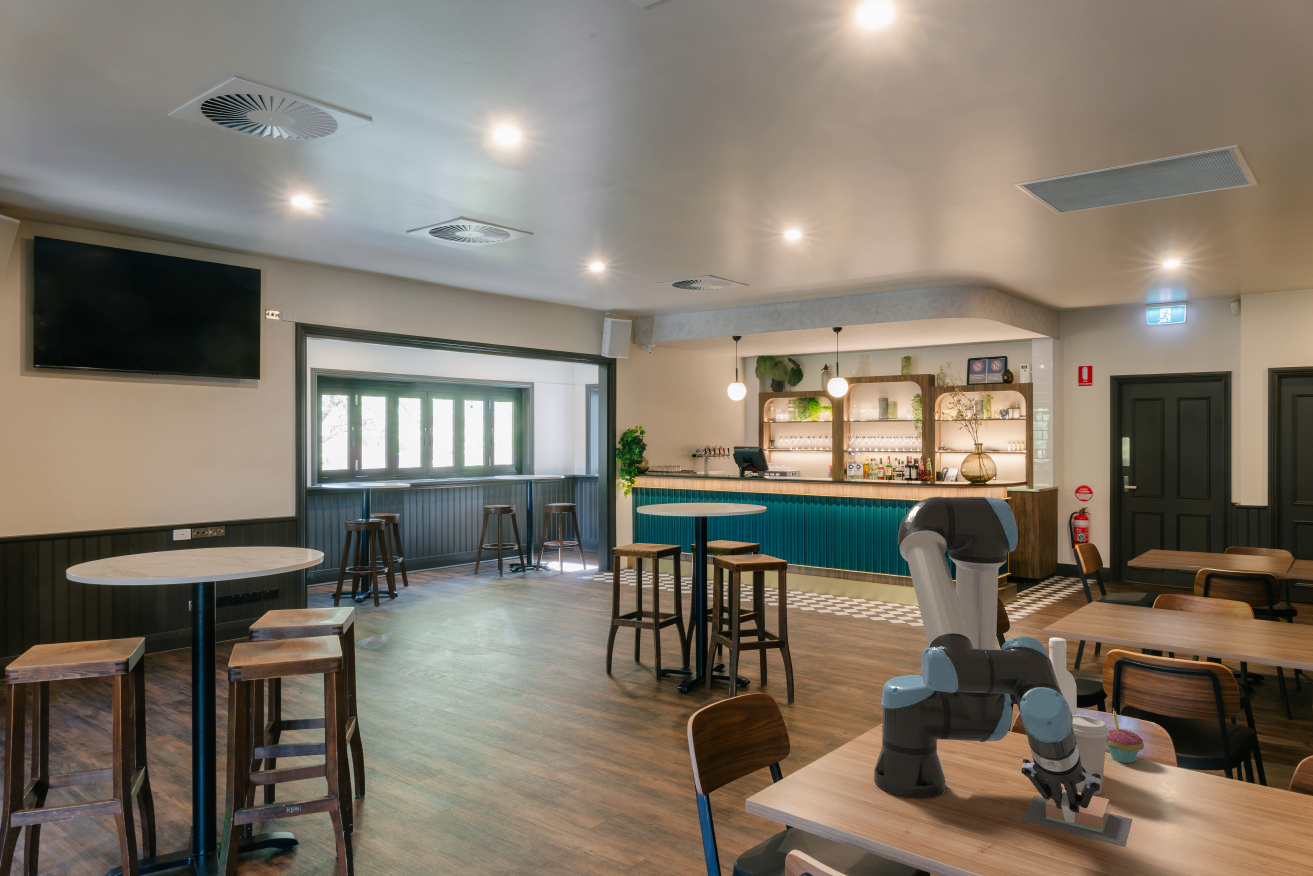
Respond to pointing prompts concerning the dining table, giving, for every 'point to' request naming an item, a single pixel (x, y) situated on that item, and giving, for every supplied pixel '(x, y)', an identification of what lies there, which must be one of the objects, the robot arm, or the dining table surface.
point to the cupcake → (1123, 743)
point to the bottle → (1063, 672)
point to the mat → (1112, 833)
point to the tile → (1083, 814)
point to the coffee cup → (1090, 746)
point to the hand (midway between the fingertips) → (1070, 815)
